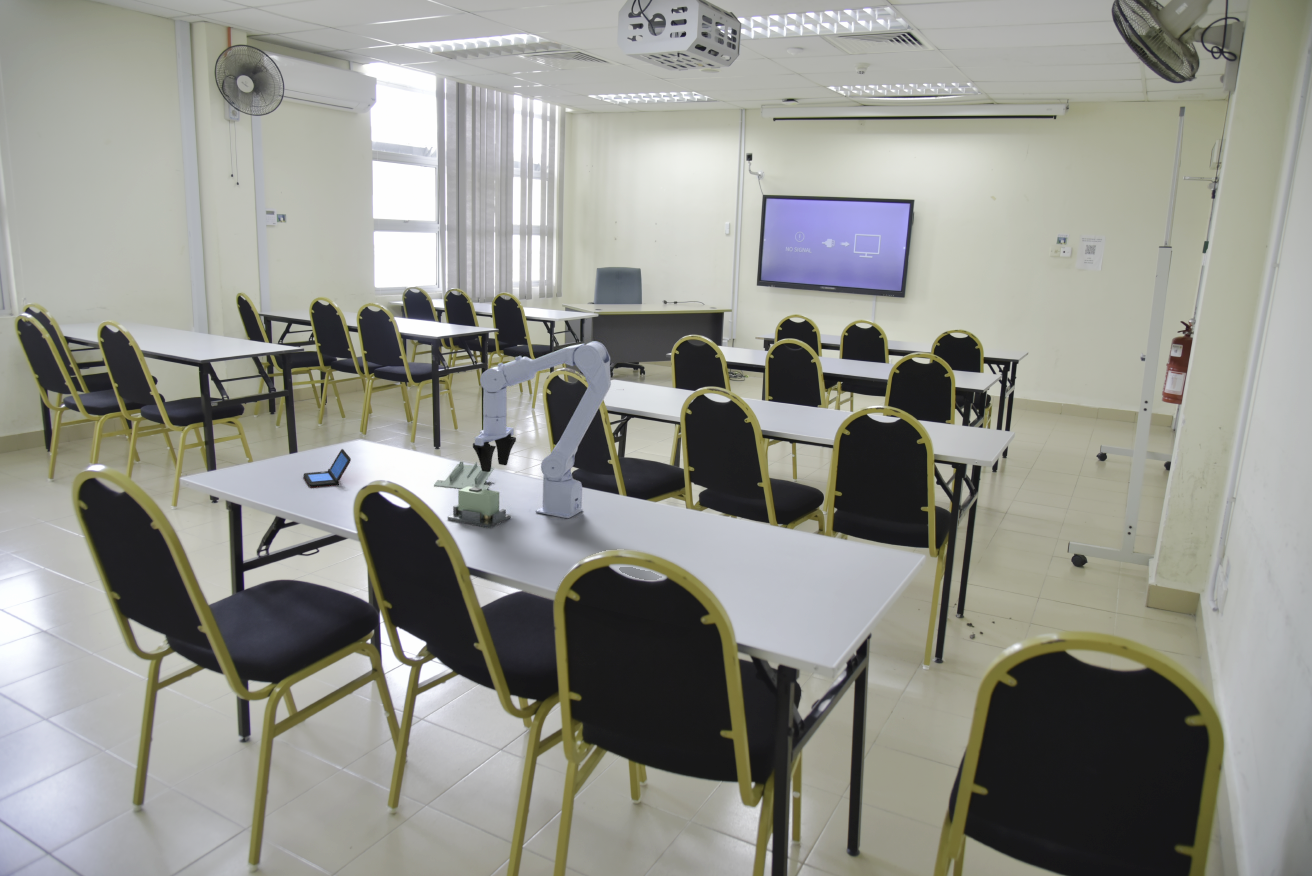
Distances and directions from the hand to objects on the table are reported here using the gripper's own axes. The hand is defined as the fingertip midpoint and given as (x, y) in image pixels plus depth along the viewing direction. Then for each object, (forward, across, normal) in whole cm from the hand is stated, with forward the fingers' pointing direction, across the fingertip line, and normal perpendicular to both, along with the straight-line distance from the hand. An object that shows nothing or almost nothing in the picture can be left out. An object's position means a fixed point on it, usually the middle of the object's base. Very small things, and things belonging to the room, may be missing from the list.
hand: (494, 467), depth 217 cm
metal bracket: (+11, -14, -18) cm, 25 cm away
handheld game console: (+10, +4, -51) cm, 52 cm away
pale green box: (+8, +11, +3) cm, 14 cm away
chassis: (+10, +11, +3) cm, 15 cm away
